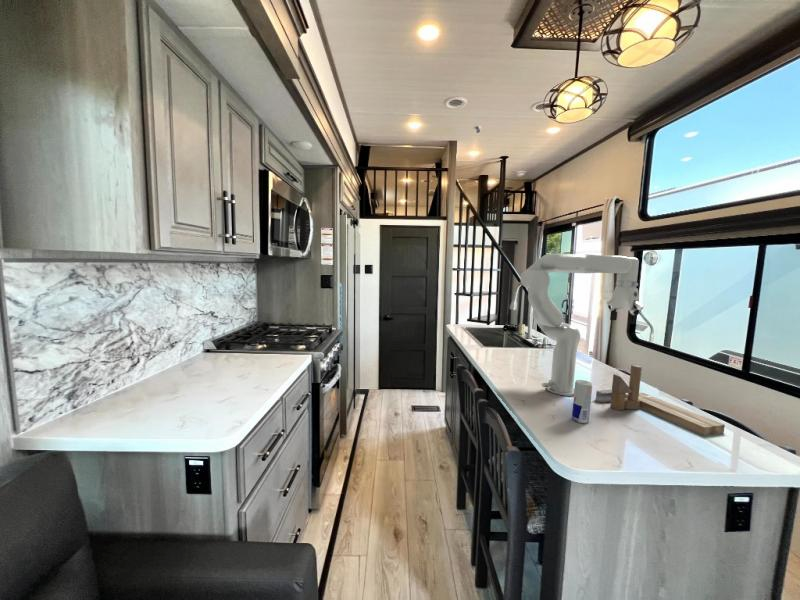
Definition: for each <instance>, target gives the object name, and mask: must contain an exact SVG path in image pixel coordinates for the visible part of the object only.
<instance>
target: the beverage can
mask: <svg viewBox="0 0 800 600" xmlns="http://www.w3.org/2000/svg"><path fill="white" fill-rule="evenodd" d="M592 391H593V382H591V381H588V380H584V379H576V380H575V381H574V396H573V399H572V400H573V401H572V413H571V419H572V420H573V421H575V422H576V423H580V424H588V423H589V422H590V412H591V403H592Z"/></svg>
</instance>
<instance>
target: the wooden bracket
mask: <svg viewBox="0 0 800 600" xmlns="http://www.w3.org/2000/svg"><path fill="white" fill-rule="evenodd" d="M642 369H643V368H642V366H641V365H638V364H631V366H630V373H629V382H628V383H629V384H627V383H626V382H625V380H624V379H623V378H622V377H621V376H620V375H617V374H615V373H613V375H612V382H611V383H612V384H611V385H612V386H611V390H613V391H612V395H611V402H610V406H609V407H610V408H612V409H614V410H616V411H625V410H627V411H628V410H639V409H640V401H639V400H638V397H639V393H640V388H641V387H640V385H641V377H642ZM626 394H628V398H625V397H626Z"/></svg>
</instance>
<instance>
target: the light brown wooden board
mask: <svg viewBox="0 0 800 600" xmlns="http://www.w3.org/2000/svg"><path fill="white" fill-rule="evenodd" d="M625 398H628V393H626V397H625ZM638 400H639V401H640V407H639V409H642V410H645V411H646V412H648V413H650V414H653V415H655V416H658V417H660V418H663V419H665V420H668V421H669V422H671V423H674V424H675V425H677V426H679V427H680V426H681V427H683V428H685V429H687V430H690V431H691V432H694V433H697V434H699V435H701V436H703V437H704V436H710V435H711V436H712V435H717V434H724V433H725V426H726V425H725V424H724V423H721V422H718V421H716V420H714V419H711V418H708V417H706V416H703V415H700V414H698V413H696V412H693V411H691V410H688V409H685V408H682V407H680V406H678V405H676V404H673V403H670V402H668V401H665V400H663V399H660V398H657V397H655V396H652V395H649V394H647V393H645V392H639V397H638Z"/></svg>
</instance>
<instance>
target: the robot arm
mask: <svg viewBox="0 0 800 600" xmlns="http://www.w3.org/2000/svg"><path fill="white" fill-rule="evenodd" d="M639 263H640V260H639V259H638V258H637V257H627V256H624V255H623V256H622V255H599V254H597V255H596V254H584V253H583V254H581V253H579V254H577V253H558V252H557V253H547V254H544V255H543V256H541V257H540V258H539V259H538V260H536V261H535V262H534V263H532V264H531V265H530V266H529V267H528V268H526V269H525V270H524V272H522V273H521V275H520V283H521V285H522V286H523V287H525V288H528V292H527V293H528V294H527V299H528V302H529V304H530V307H532V309H533V311H532V318H533V321H534V322H535V323H536V324H537V326H538V327H539V328H540V330H541V331H542V332H543V333H544V334H545V336H547V338H549V339H550V340H552V341H553V342H556V344H555V345H554V348H553V351H552V352H553V353H552V363H551V365H552V366H551V376H550V379H549V380H548V382H543V383H541V387H542V388H546V389H547V391H549V392H551V393H553V394H555V395H559V396H564V397H571V396H572V397H574V389H575V387H574V386H575V373H576V360H577V352H578V348H579V343H580V340H581V332H580V330H579V329H578V328H577V327H576V326H574V325H572V324H570V323H566V322H564V321H565V319H564V315H563V313H562V311H561V310H560V309H559V308H558V306H557V305H556V304H555V302H554V301H553V299H551V297H550V296H549V293H548V291H549V290H548V289H549V286H550V282H551V279H550V275H549V273H558V274H559V273H562V274H617V276H616V278H617V279H616V285H615V286H616V287H614V290H613V293H612V294H613V295H612V299H611V300H608V301H607V302H606V304H607V307H608V309H609V312H610V318H609V320H610V321H617V319H618V310H624V311H625V310H626V311H628V312H629V313H630V315H629V320H628V324H631V325H636V323H637V316H638V315H639V314H640V313H642V310H643V309H644V305H643V304H641V303H640V293H639V289H638V288H637V287H638V286H639V283H638V274H639V265H640V264H639Z"/></svg>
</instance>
